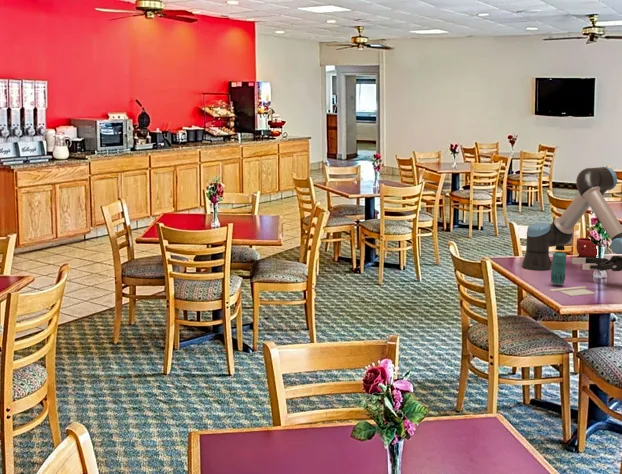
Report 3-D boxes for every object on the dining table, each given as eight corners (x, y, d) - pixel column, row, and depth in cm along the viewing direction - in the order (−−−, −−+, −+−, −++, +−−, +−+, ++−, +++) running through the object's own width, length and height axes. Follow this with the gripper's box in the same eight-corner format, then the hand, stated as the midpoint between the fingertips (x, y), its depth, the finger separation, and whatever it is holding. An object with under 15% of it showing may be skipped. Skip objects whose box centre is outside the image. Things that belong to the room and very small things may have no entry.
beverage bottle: (548, 284, 388) (550, 244, 384) (561, 284, 388) (564, 243, 385) (553, 287, 381) (556, 246, 378) (566, 287, 382) (569, 246, 378)
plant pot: (603, 262, 438) (605, 241, 436) (579, 262, 438) (581, 241, 436) (595, 257, 451) (596, 236, 449) (572, 257, 451) (573, 236, 449)
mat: (559, 292, 372) (559, 291, 372) (584, 289, 377) (584, 289, 377) (570, 296, 365) (570, 295, 365) (595, 293, 370) (595, 293, 370)
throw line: (549, 290, 375) (549, 289, 375) (584, 287, 382) (584, 286, 382) (551, 291, 373) (551, 290, 373) (586, 288, 380) (586, 287, 380)
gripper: (631, 276, 372) (586, 277, 371) (609, 265, 397) (567, 265, 396) (632, 261, 371) (587, 261, 370) (610, 250, 395) (568, 250, 395)
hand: (577, 263), depth 383 cm, fingers open, 13 cm apart
